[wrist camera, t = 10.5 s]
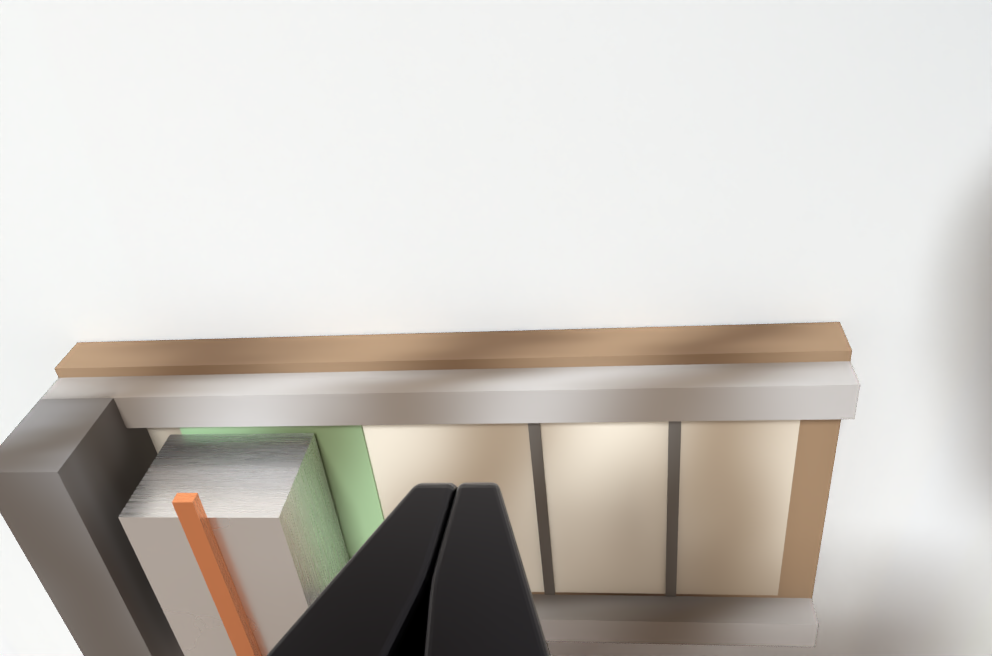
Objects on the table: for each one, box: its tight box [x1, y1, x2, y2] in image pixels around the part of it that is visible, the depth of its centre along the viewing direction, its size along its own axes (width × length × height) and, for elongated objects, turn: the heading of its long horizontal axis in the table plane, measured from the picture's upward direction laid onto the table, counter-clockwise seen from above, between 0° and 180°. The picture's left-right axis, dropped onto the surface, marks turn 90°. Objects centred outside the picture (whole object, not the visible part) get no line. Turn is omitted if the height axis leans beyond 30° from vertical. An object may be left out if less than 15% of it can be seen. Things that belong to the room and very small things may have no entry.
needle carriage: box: [118, 433, 349, 656], centre depth 23 cm, size 4×8×3 cm, turn 6°
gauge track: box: [0, 322, 860, 656], centre depth 23 cm, size 20×10×5 cm, turn 96°
